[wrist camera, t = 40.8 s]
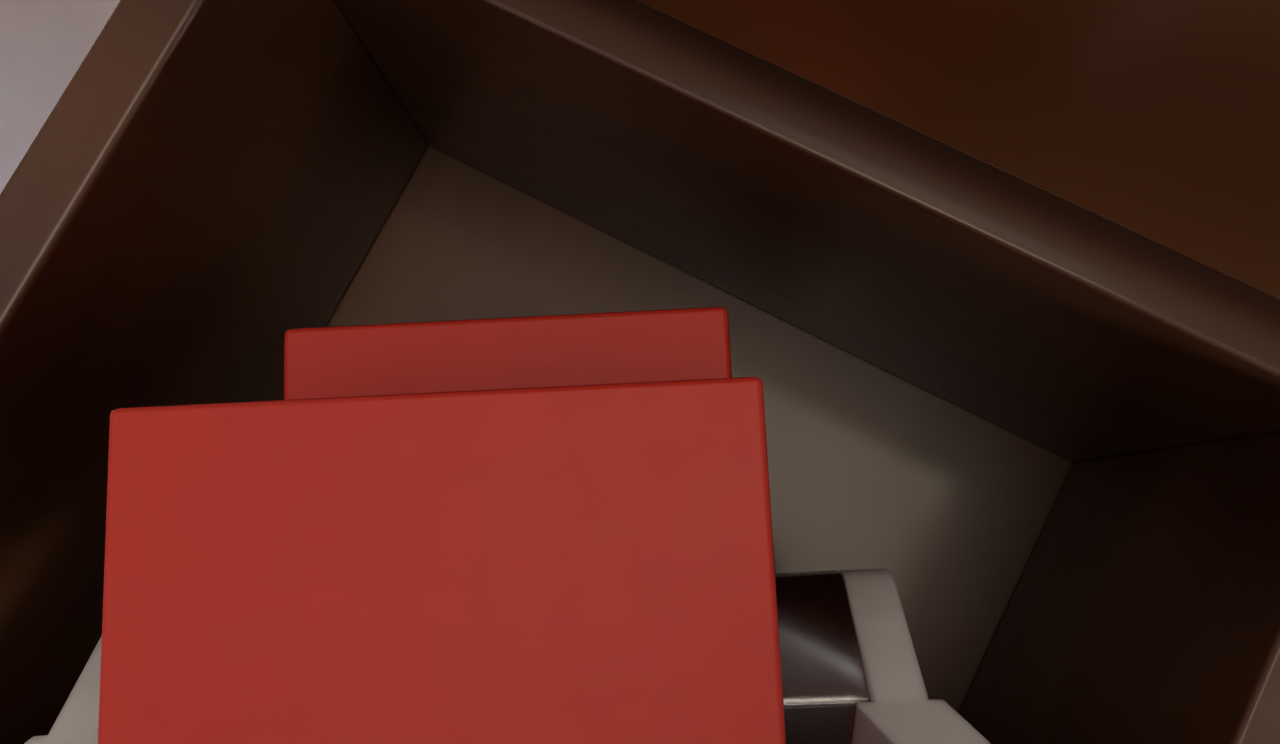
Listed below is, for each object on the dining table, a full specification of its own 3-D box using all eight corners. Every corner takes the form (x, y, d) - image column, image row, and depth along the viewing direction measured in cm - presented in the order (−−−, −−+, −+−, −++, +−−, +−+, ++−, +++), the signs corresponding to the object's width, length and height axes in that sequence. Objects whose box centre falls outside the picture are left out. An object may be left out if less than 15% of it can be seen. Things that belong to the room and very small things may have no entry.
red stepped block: (389, 385, 16) (100, 243, 8) (718, 368, 16) (765, 208, 8) (392, 928, 14) (53, 1415, 7) (750, 915, 14) (845, 1396, 6)
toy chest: (760, 1230, 15) (843, 1950, 8) (31, 794, 17) (-525, 1031, 9) (1116, 445, 17) (1487, 381, 9) (423, 106, 18) (237, -198, 11)
